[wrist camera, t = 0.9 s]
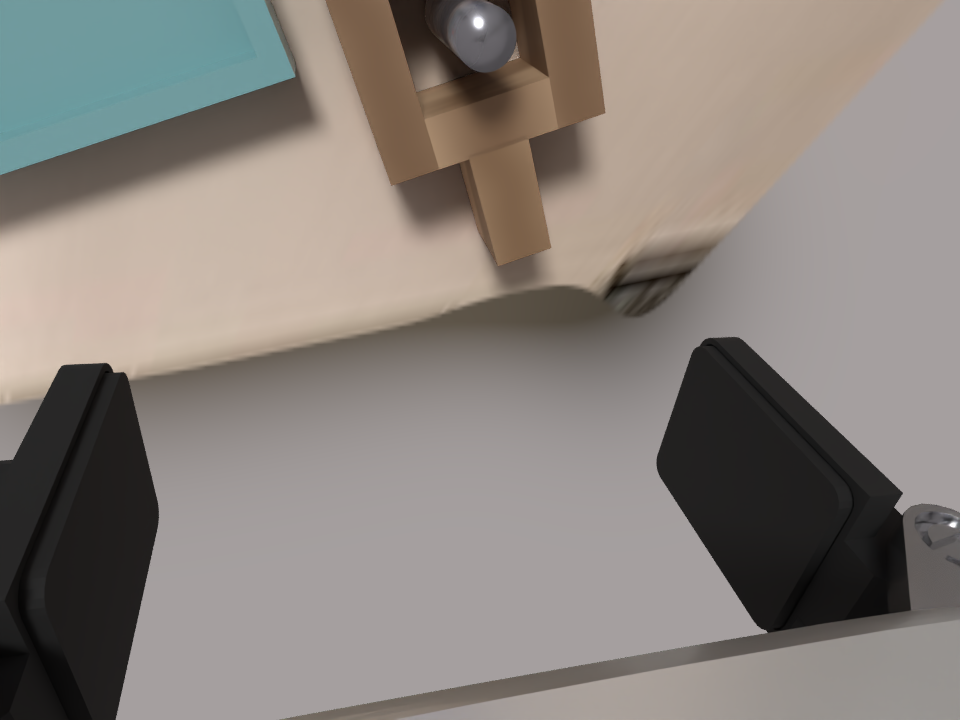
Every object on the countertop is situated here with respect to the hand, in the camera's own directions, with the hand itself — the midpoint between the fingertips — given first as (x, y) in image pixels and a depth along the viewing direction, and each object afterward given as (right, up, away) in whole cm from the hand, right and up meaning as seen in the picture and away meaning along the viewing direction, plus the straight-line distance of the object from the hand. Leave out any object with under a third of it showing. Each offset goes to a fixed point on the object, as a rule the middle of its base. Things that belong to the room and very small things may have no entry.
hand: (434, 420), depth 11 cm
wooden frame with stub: (0, +13, +17) cm, 21 cm away
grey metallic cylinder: (-1, +15, +15) cm, 21 cm away
